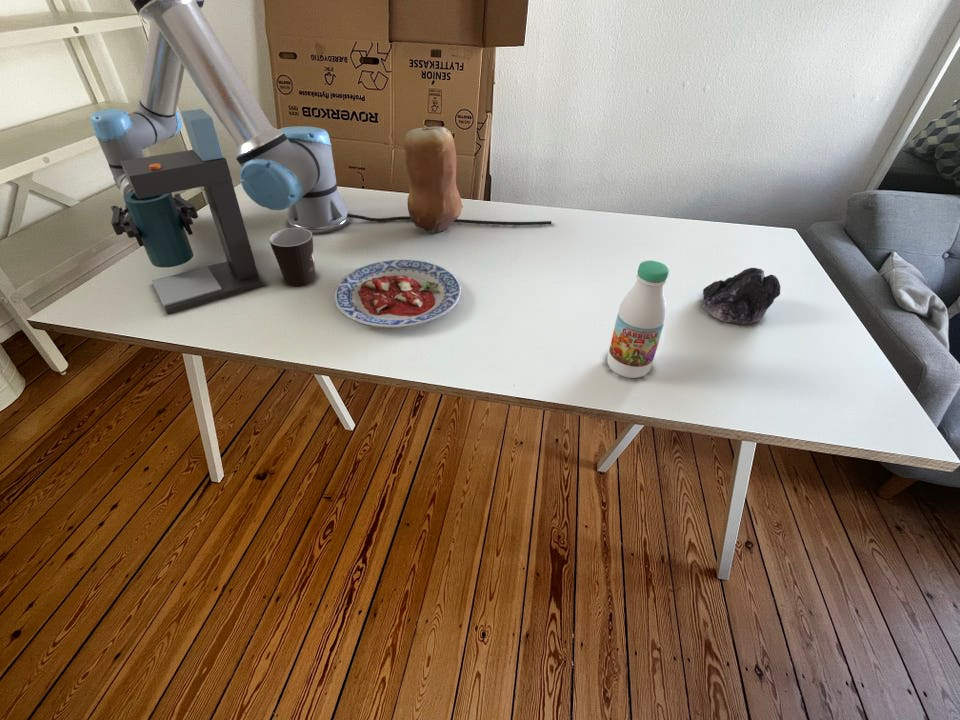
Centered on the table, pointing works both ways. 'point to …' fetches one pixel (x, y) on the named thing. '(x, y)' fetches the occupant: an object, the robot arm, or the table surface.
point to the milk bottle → (639, 322)
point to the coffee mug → (294, 255)
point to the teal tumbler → (160, 229)
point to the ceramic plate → (397, 293)
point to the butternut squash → (432, 178)
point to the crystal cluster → (741, 296)
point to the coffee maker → (213, 175)
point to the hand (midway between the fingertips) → (164, 233)
